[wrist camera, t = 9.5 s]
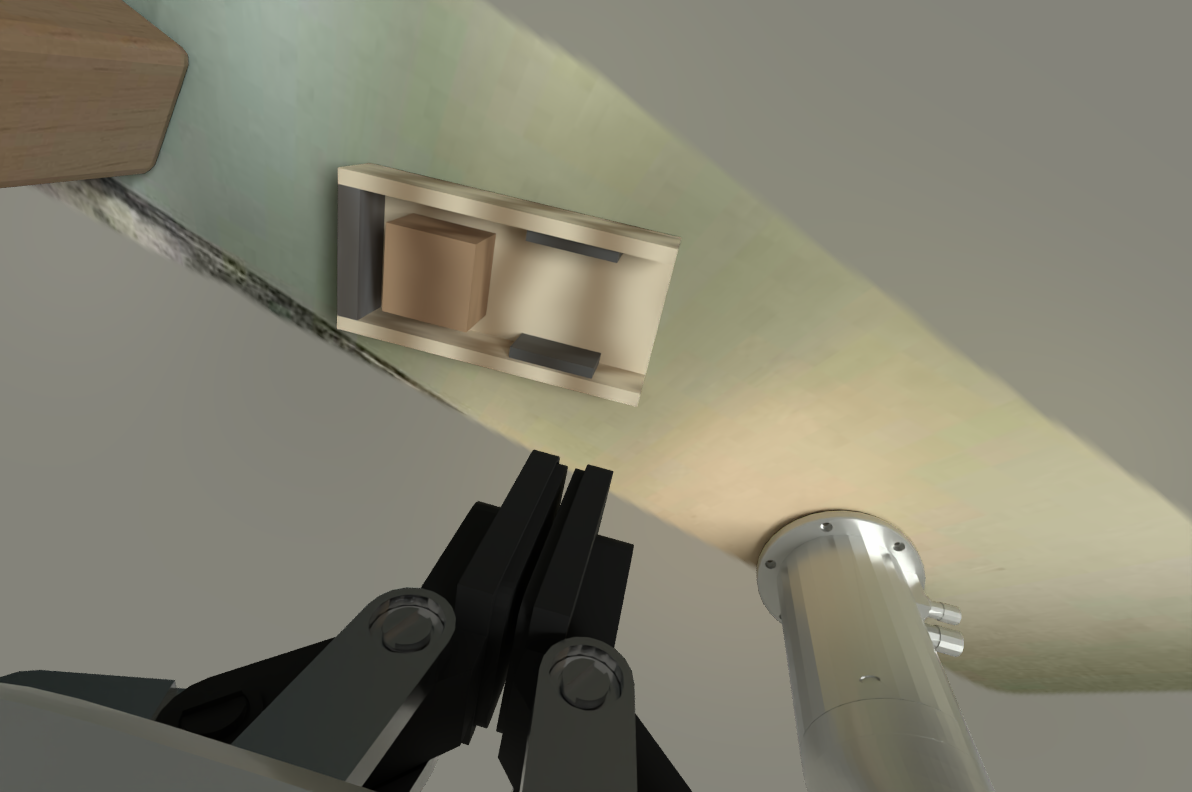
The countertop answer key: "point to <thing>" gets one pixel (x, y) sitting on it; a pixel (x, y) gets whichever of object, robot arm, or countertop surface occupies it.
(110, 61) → the block
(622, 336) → the chute
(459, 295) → the block
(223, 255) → the countertop surface
